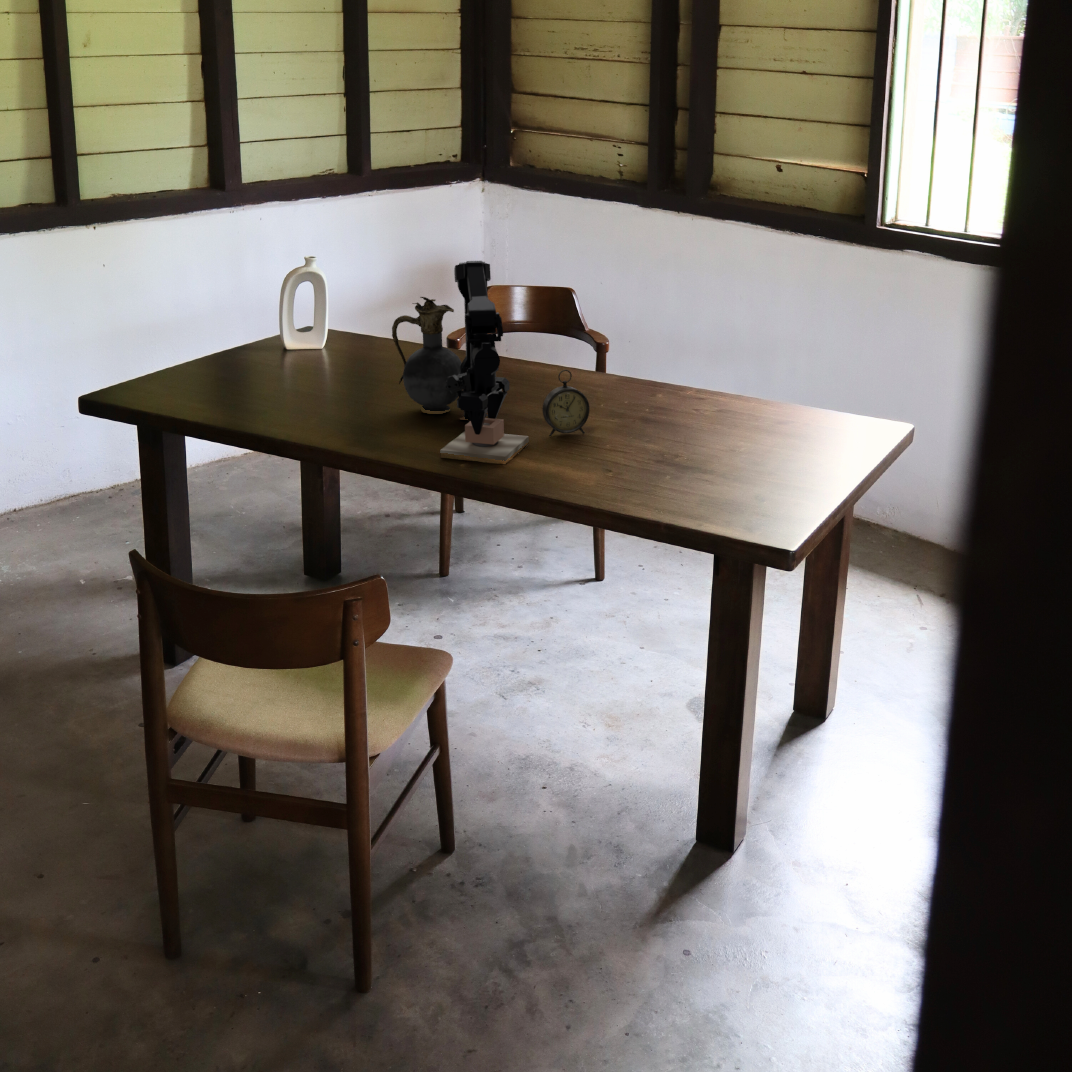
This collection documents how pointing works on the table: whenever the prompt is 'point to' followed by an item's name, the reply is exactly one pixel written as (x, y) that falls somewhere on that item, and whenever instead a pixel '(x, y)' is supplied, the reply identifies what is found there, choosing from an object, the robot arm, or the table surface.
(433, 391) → the pitcher
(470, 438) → the collar
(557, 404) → the alarm clock
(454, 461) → the table surface
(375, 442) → the table surface
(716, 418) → the table surface
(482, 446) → the post stand
